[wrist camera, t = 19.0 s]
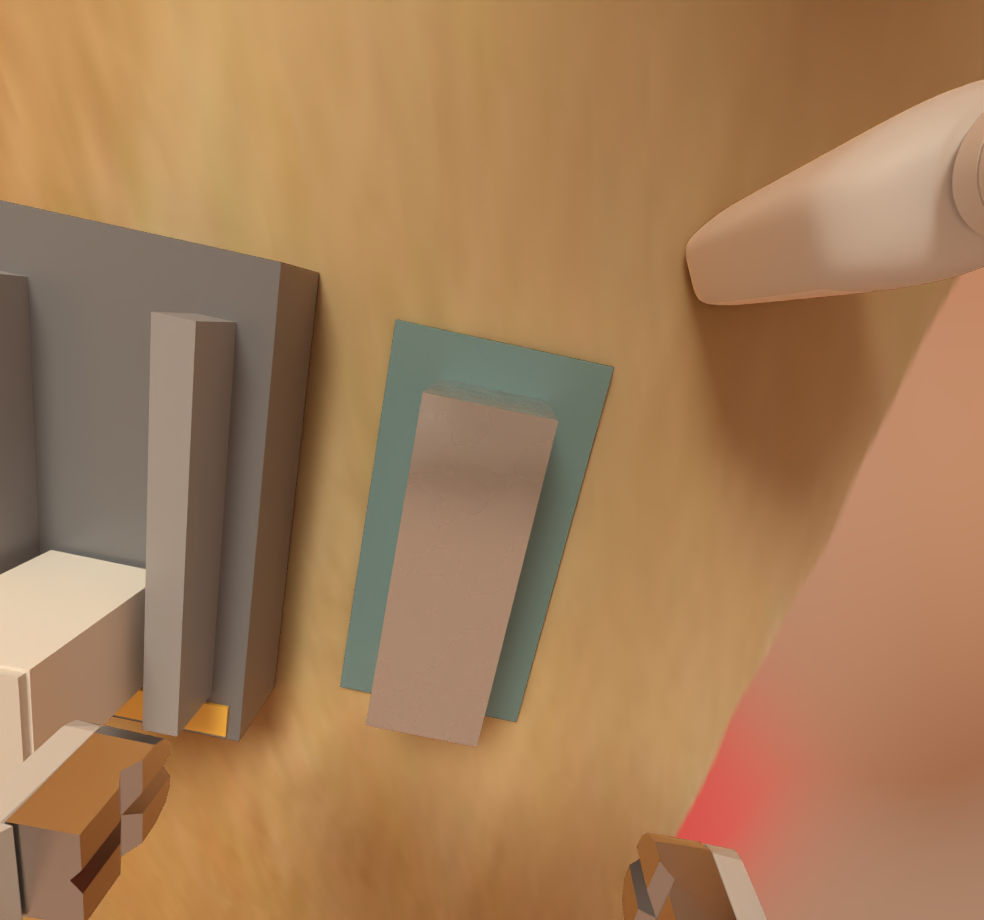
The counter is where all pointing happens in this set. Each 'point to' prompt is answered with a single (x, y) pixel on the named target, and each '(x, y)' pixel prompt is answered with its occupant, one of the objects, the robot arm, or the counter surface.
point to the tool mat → (578, 410)
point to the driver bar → (458, 557)
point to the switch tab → (66, 647)
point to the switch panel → (158, 442)
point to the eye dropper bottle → (858, 214)
